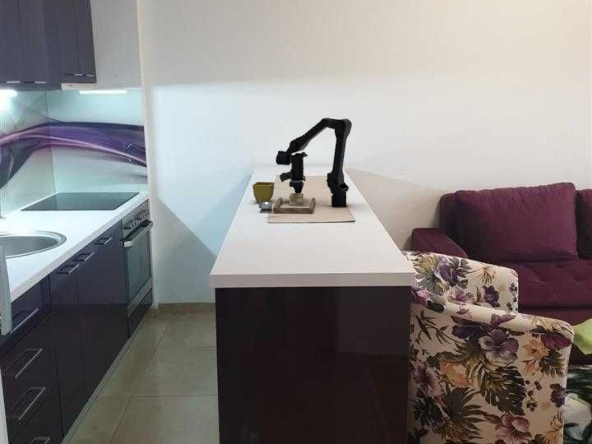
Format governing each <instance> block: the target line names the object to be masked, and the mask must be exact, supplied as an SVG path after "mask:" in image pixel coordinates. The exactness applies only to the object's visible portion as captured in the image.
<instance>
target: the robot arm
mask: <svg viewBox="0 0 592 444" xmlns="http://www.w3.org/2000/svg"><path fill="white" fill-rule="evenodd" d="M352 127H353V124H352V121H351V119H349V118H341V119H338V118H330V117H323V118H321V120H319V121H318V122H317V123H316V124H315V125H313V126H312V127H311V128H309V129H308V130H307V131H306V132H305V133H303V134H302V135H300V136H298V137H296V138H294V139H292V140H290V142H289V146H288V147H287V148H286V151H285V150H278V151H277V154H276V157H275V163H276V165H277V166H291V168H290V170H288V171H286V172H282V173H280V174H279V179H280V182H281V183H283V182H285V181H287V180H290V181H289V183H288V185H289V187H290V188H293V191H294V193H302V191H303V189H304V187H305V183H304V182H306V178H307V177H306V176H305V174H304V171H305V166H304V163H305V162H304V158H307V157H308V156H309V155H308V154H307V153H306V152H305V149H306V148H307V146H308V145H309V143H310V142H311V141H312V140H313V139H314V138H316V137H317V136H318V135H319V134H321V133H322V132H323V131H324V130H326V129H327V128H328V129H331V130H334V135H335V144H334V145H335V147H334V155H333V162H332V169H331V171H330V172H327V174H326V181H325V183H326V185H327V188H328V189H329V192H330V193H331V194H332V195H331V196H330V197H331V200H330V201H331V202H330V203H331V207H333V208H347V204H348V203H347V193H348V191H349V189H350V187H349V185H348V184H347V183H346V182H345V174H344V170H343V168H344V162H345V160H344V159H345V153H346V145H347V139H348V137H349V135H350V134H351V130H352Z"/></svg>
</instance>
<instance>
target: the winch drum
mask: <svg viewBox="0 0 592 444" xmlns="http://www.w3.org/2000/svg"><path fill="white" fill-rule="evenodd" d="M258 209H260V210H259V213H260V214H272V213H273V203H272V201H269V202H261V198H259V203H258Z"/></svg>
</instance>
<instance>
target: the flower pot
mask: <svg viewBox="0 0 592 444" xmlns="http://www.w3.org/2000/svg"><path fill="white" fill-rule="evenodd" d="M274 189H275V182H274V181H270V182H269V181H257V182H255V183H253V184H252V190H253V191H252V192H253V196H254V199H255V201H256V203H258V204H259V198H261V202H271V201H272V198H273V195H274V191H275V190H274Z"/></svg>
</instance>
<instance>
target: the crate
mask: <svg viewBox="0 0 592 444" xmlns="http://www.w3.org/2000/svg"><path fill="white" fill-rule="evenodd" d="M304 194H305V193H302V192H301V193H295V192H290V193H289V196H288V197H289V207H304V206H303V205H304Z"/></svg>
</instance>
